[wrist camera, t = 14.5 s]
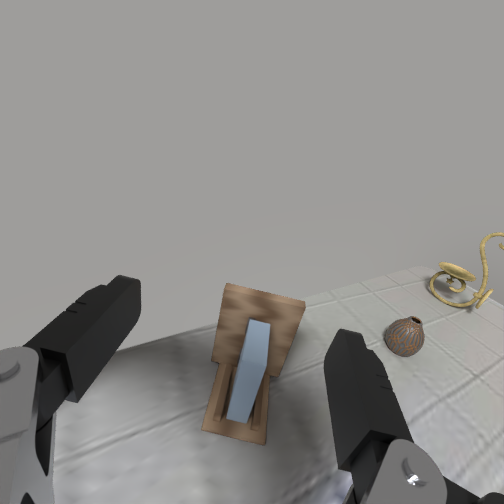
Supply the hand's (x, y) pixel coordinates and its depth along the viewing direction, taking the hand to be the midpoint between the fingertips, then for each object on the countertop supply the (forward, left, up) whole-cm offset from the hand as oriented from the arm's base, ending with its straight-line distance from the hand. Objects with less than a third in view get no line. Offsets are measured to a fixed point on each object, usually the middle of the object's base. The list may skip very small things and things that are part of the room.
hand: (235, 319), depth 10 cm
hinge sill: (+3, +16, -32) cm, 36 cm away
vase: (+36, +36, -32) cm, 60 cm away
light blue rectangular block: (+3, +16, -31) cm, 35 cm away
